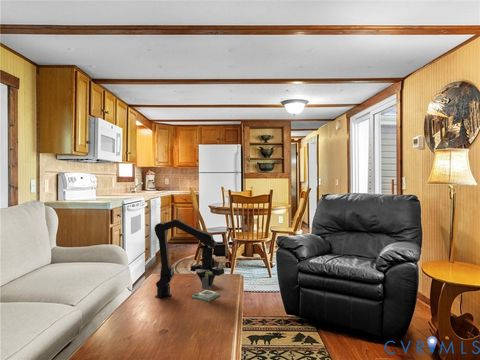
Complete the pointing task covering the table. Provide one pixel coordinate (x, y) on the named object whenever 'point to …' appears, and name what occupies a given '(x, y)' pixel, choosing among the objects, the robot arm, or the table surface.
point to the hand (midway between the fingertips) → (207, 285)
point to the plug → (205, 283)
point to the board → (206, 295)
